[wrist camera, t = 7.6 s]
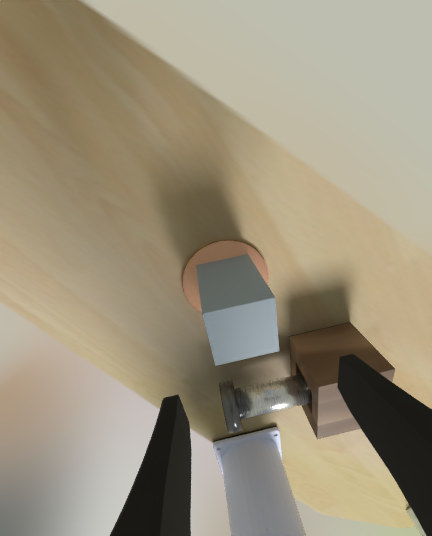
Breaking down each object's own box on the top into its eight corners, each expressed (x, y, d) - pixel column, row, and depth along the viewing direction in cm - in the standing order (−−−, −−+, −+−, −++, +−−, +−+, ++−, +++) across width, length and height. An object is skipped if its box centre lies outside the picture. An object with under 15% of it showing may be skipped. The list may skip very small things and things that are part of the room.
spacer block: (253, 297, 20) (279, 351, 15) (206, 307, 20) (215, 365, 15) (248, 253, 18) (275, 297, 13) (196, 265, 18) (202, 313, 13)
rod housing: (345, 372, 27) (382, 423, 22) (292, 384, 26) (317, 439, 22) (350, 322, 23) (395, 369, 19) (289, 336, 23) (318, 387, 18)
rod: (305, 381, 25) (325, 420, 21) (224, 400, 25) (231, 443, 21) (304, 353, 23) (327, 391, 19) (217, 373, 23) (224, 415, 19)
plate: (269, 305, 21) (271, 307, 21) (193, 322, 21) (193, 324, 21) (263, 231, 18) (264, 233, 18) (173, 251, 18) (172, 252, 18)
